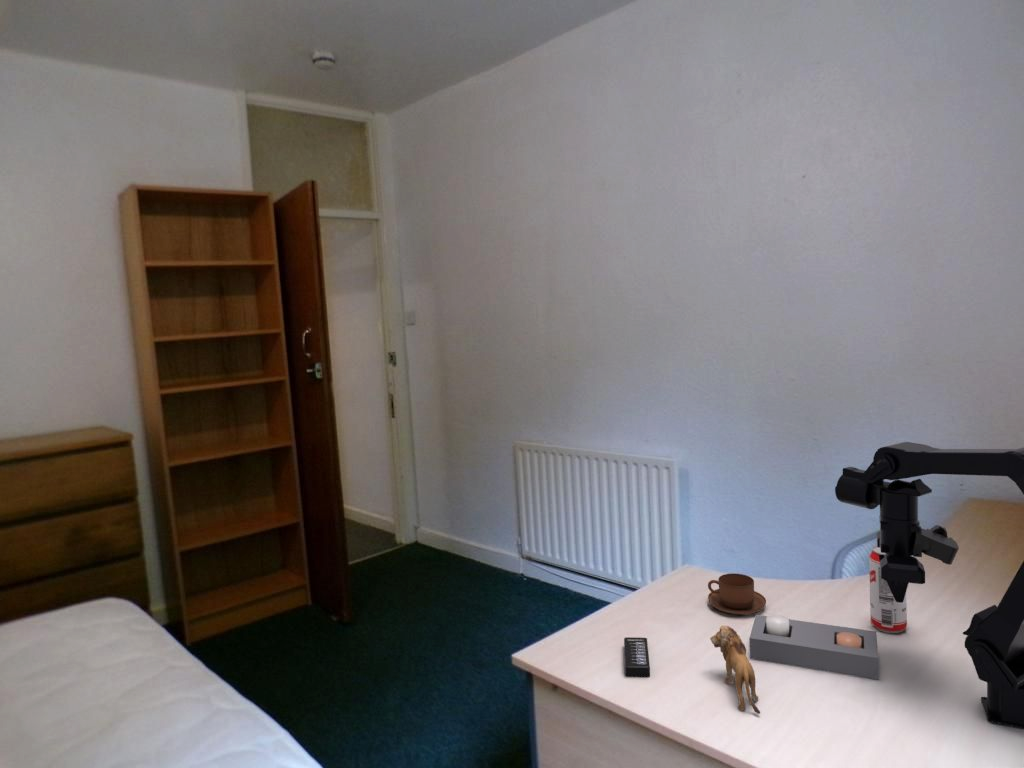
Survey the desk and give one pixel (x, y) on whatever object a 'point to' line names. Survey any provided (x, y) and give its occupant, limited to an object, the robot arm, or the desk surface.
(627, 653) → the multiport hub
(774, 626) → the grey piece
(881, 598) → the beer can
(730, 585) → the cup and saucer
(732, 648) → the lion figurine
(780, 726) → the desk surface
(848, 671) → the plug block
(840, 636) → the terracotta plug
